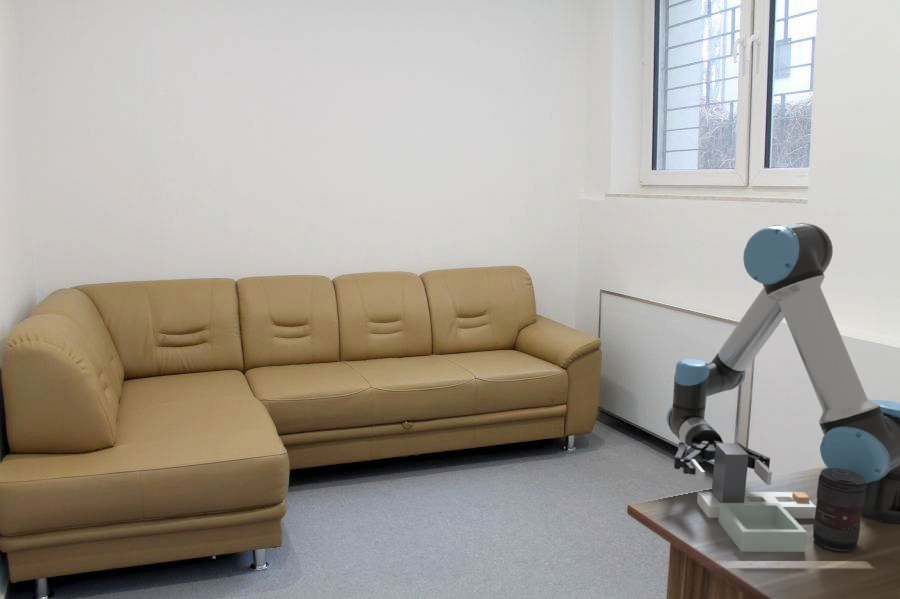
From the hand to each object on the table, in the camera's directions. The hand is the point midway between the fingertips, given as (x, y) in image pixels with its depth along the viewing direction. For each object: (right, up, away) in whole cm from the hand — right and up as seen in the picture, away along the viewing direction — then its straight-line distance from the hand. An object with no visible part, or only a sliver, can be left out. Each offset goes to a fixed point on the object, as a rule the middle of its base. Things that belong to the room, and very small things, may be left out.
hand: (736, 478), depth 159 cm
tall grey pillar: (0, -8, +5) cm, 9 cm away
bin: (+2, -11, -6) cm, 12 cm away
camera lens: (+16, -12, -8) cm, 21 cm away
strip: (+6, -9, +5) cm, 12 cm away
